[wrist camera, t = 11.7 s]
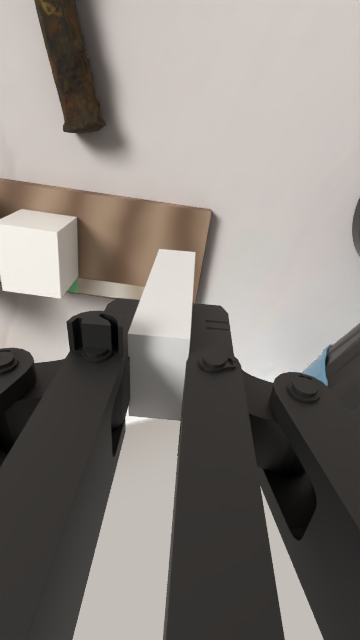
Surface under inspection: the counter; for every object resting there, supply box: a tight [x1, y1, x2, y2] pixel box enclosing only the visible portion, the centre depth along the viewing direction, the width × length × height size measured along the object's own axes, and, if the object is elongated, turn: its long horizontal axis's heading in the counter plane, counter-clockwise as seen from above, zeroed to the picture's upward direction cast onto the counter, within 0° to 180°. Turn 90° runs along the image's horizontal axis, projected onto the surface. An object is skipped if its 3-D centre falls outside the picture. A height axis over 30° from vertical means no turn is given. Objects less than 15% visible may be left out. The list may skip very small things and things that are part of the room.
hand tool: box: [34, 0, 105, 133], centre depth 27 cm, size 19×4×5 cm, turn 5°
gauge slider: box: [0, 209, 78, 299], centre depth 36 cm, size 9×10×6 cm
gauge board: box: [0, 178, 211, 303], centre depth 35 cm, size 30×12×10 cm, turn 82°
